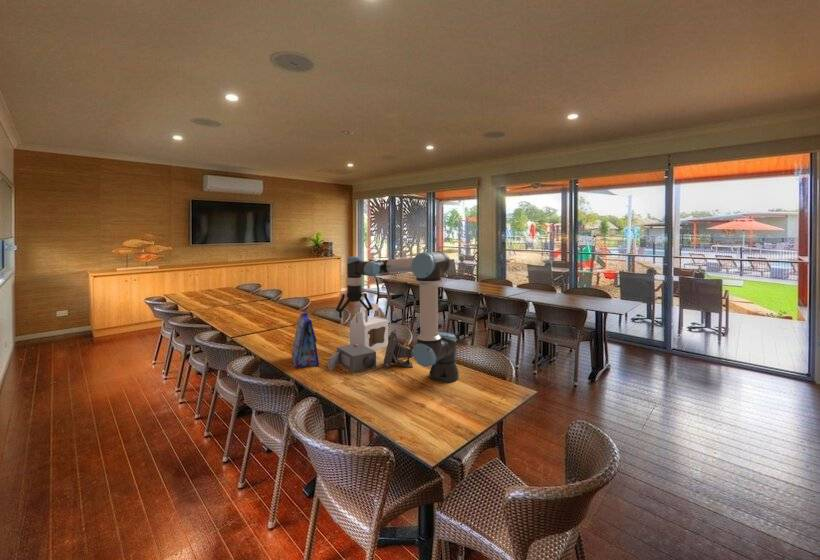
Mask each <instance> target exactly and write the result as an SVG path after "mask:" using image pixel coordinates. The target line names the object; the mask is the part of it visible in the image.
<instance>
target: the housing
mask: <svg viewBox="0 0 820 560" xmlns="http://www.w3.org/2000/svg"><path fill="white" fill-rule="evenodd" d="M338 351H340V360H341V363H340V364H339V365H341V366H342V367H343V368H345V369H347V370H348V371H350V372H351V373H357V372H358V373H359V372H363V371H366V370H367V371H368V370H371V369H375V368H377V351H376V350H372V349H370V348H368V347H366V346H364V345H361V344H359V343H357V344H352V345H350V344H347V345H341V346H337V347H336V353H337V352H338Z"/></svg>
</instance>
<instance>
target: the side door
mask: <svg viewBox="0 0 820 560" xmlns="http://www.w3.org/2000/svg"><path fill="white" fill-rule="evenodd" d="M327 358H328V359H327V360H328V361H327V367H328V371H332V370H333V369H334V368H335V367H337V366H339V365H340V363H341V360H340V351H338V352H337V351H336V353H333V355H331V356H329V357H327Z"/></svg>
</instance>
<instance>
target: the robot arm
mask: <svg viewBox="0 0 820 560" xmlns="http://www.w3.org/2000/svg"><path fill="white" fill-rule="evenodd" d="M450 259H451V258H450V257H449V256H448V254H446V253H445V252H443V251H424V252H420V253H418V254H416V255H415V257H406V258H395V259H394V258H392V259H382V260H371V261H366V260H364V261H363V260H362V257H361V256H349V257H347V261H346V271H347V273H346V275H347V277H346V278H347V279H346V281H347V283H346V284H347V287H346V288H347V293H345V294H344V293H341V296H340V300H339V301H338V304H337V306H336V307H335V311H336V312H338V317H339V319H340V322H341V325H344V310H345V308H346V307H347V306H348V305H349V303H354V302H355V303H357V302H359V303H360V304H361V306H364V307H365V308H366V309H367V310H365V313H364V316H365V317H364V319H365V322H368V318H369V316H370V312H369V311H370V310H371V309H373V308H372V306H371V304H372V303H371V302H370V300H369V298H368V294H367V293H366V292H364V293H362V276H367V277H376V276H377V275H385V274H386V275H387V274H400V273H402V274H405V273H413V275H414V277H416V280H415V281H416V282H417V284H418V285H419V320H420V321H419V326H420V329H419V334H418V336H417V337H416V340H417V341H416V344H415V345H414V347H413V356H412V357H413V359H414V360H415V361H416V363H417V364H418V365H420V366H421V367H424V368H428V367H430V370H429V373H428V377H429V379H430V380H432V381H433V382H437V383H453V382H456V381H458V380H459V379H460V377H459V376H460V373H459V370H458V367H457V362H456V360H457V355H456V354H457V336H456V335H455V334H453V333H451V332H450V333H449V332H441V331H439V295H438V294H439V287H438V286H439V284H440V282H441V281H442V275H444V274H446V273H447V272H448V271H449V269H450V267H451V260H450ZM346 297H347V298H346ZM362 297H363V298H364V300H365V302H366V303H365V302H364V301H363V299H361V298H362ZM345 299H346V301H345V302H344V300H345ZM343 302H344V303H343ZM366 305H368V306H369V308H368V307H367V306H366Z"/></svg>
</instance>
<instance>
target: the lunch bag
mask: <svg viewBox="0 0 820 560" xmlns="http://www.w3.org/2000/svg"><path fill="white" fill-rule="evenodd" d="M296 322H297V323H296V328H295V333H294V339H293V344H292V350H291V359H292V362H293V365H294V368H295V369H299V368H300V369H301V368H303V367H307V366H309V367H311V366H313V367H318V366H320V361H319V359H320V358H319V352H318V349H317V342H318V341H317V338H316V334H315V330H314V327H313V322H312V319H311V318H310V317H309V314H308V312H307V311H305V312H304V311H303V312H302V313H300V314H299V316H298V319H297V321H296Z"/></svg>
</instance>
